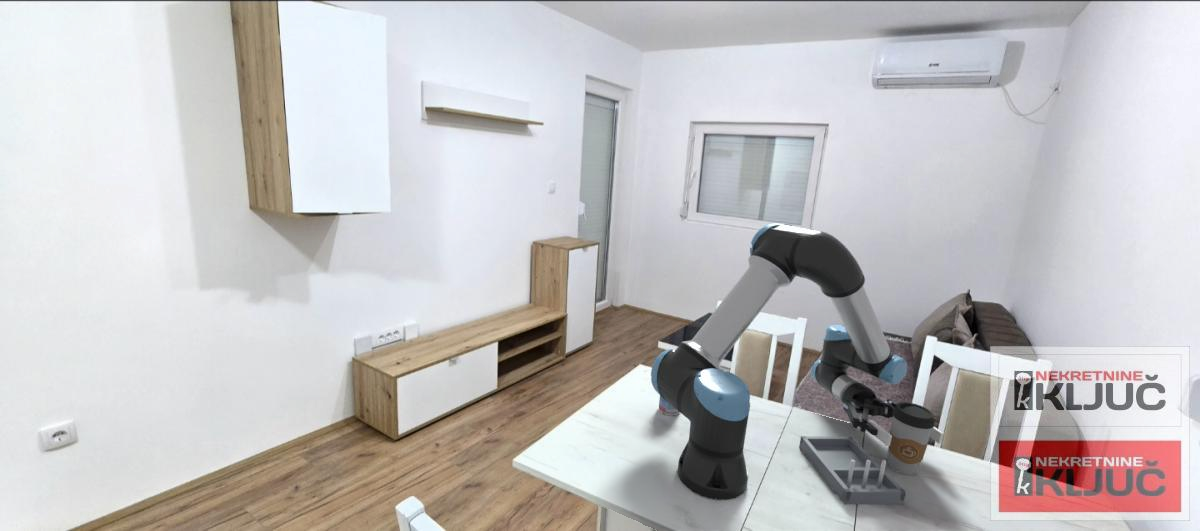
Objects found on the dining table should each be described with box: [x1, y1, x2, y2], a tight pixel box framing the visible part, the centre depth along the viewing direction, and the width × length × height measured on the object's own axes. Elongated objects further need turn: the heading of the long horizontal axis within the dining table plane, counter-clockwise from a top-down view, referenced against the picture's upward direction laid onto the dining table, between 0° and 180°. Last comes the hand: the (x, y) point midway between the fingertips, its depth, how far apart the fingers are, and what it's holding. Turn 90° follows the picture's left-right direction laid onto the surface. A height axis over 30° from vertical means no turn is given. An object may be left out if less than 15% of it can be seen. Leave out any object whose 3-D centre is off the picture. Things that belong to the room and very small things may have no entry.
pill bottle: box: [658, 395, 681, 416], centre depth 131 cm, size 6×6×11 cm
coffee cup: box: [886, 401, 936, 476], centre depth 111 cm, size 8×8×15 cm
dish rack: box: [798, 435, 907, 505], centre depth 108 cm, size 20×13×8 cm, turn 4°
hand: (915, 439), depth 109 cm, fingers open, 13 cm apart
